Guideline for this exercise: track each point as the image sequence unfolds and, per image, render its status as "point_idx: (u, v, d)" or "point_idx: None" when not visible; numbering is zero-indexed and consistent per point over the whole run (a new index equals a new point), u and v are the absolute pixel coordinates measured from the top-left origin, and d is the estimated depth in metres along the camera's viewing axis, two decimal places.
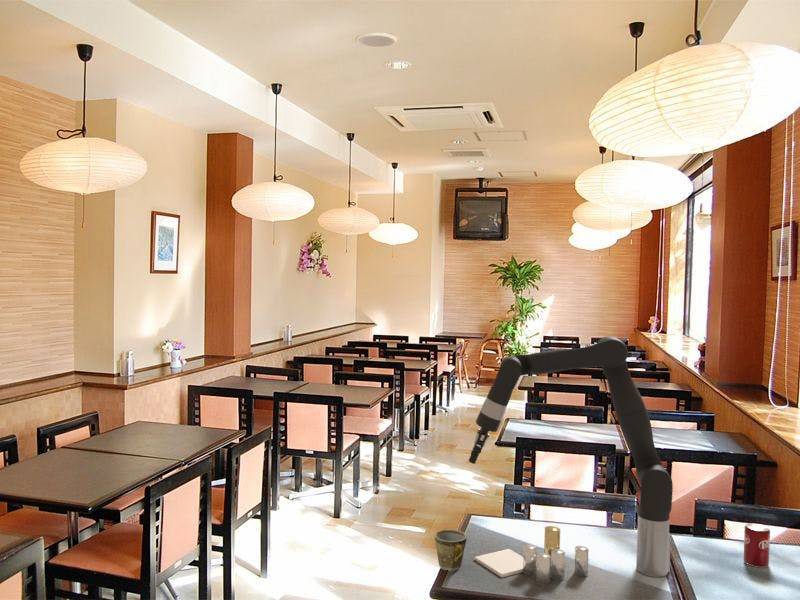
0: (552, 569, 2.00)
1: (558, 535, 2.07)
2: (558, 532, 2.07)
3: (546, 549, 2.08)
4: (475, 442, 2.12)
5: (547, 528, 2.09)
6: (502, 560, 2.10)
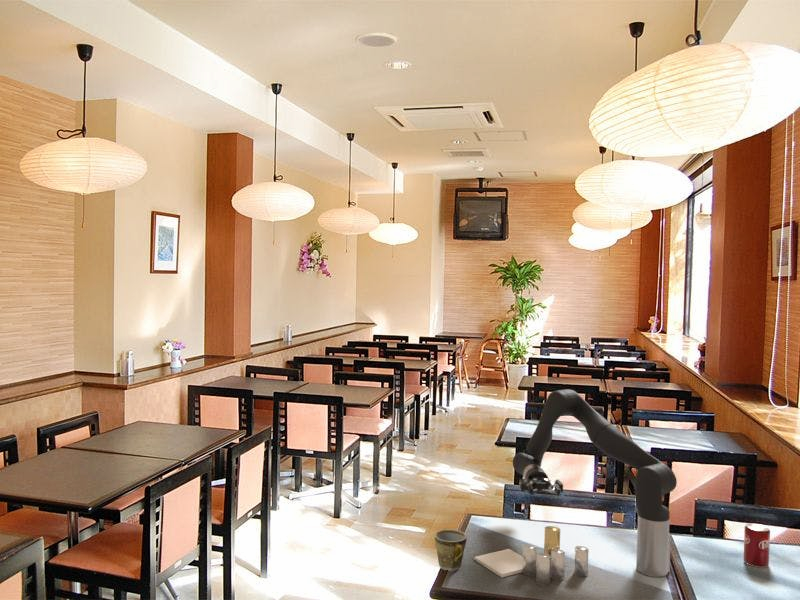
0: (552, 569, 2.00)
1: (558, 535, 2.07)
2: (558, 532, 2.07)
3: (546, 549, 2.08)
4: None
5: (547, 528, 2.09)
6: (502, 560, 2.10)
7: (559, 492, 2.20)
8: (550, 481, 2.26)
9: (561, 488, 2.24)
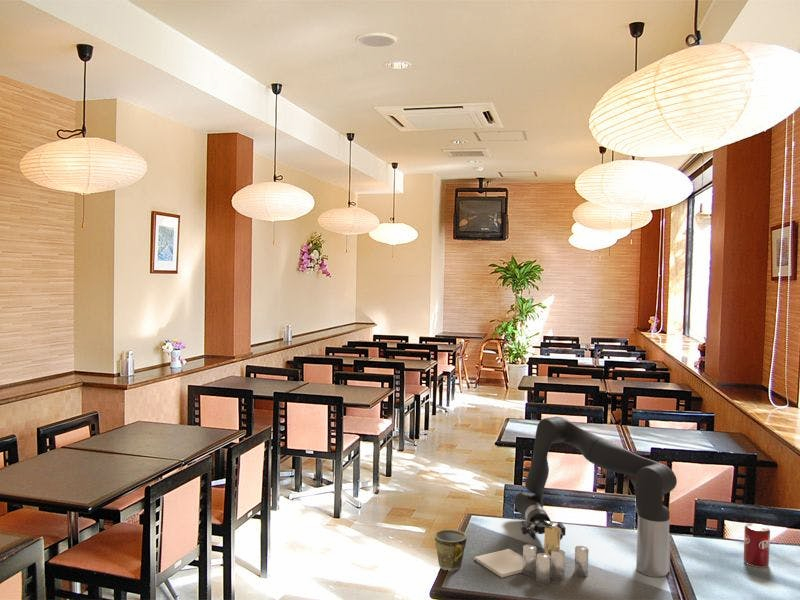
0: (552, 569, 2.00)
1: (558, 535, 2.07)
2: (558, 532, 2.07)
3: (546, 549, 2.08)
4: None
5: (547, 528, 2.09)
6: (502, 560, 2.10)
7: (561, 536, 2.17)
8: (552, 524, 2.23)
9: (563, 531, 2.20)
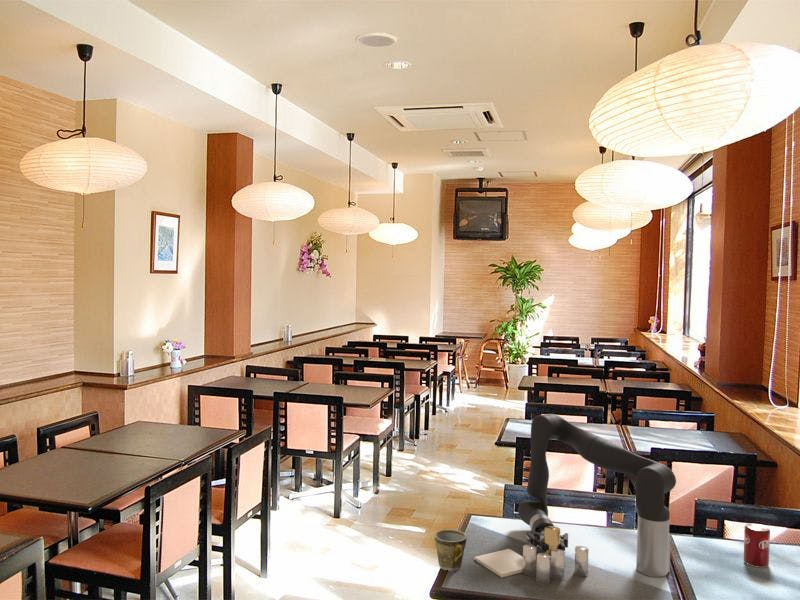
0: (552, 569, 2.00)
1: (558, 535, 2.07)
2: (558, 532, 2.07)
3: None
4: None
5: (547, 528, 2.09)
6: (502, 560, 2.10)
7: (564, 548, 2.07)
8: None
9: (566, 543, 2.10)
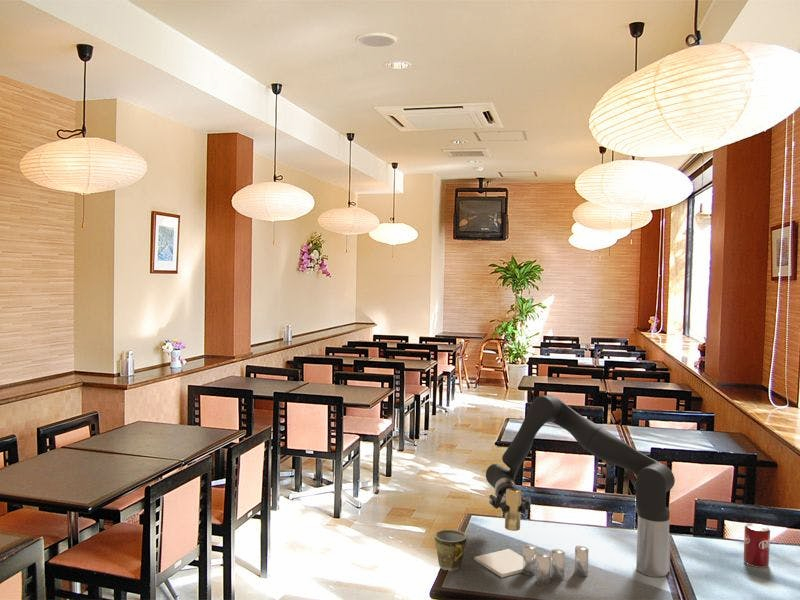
0: (552, 569, 2.00)
1: (519, 496, 2.08)
2: (519, 494, 2.08)
3: (507, 510, 2.09)
4: None
5: (508, 490, 2.10)
6: (502, 560, 2.10)
7: (524, 510, 2.08)
8: None
9: (527, 505, 2.11)
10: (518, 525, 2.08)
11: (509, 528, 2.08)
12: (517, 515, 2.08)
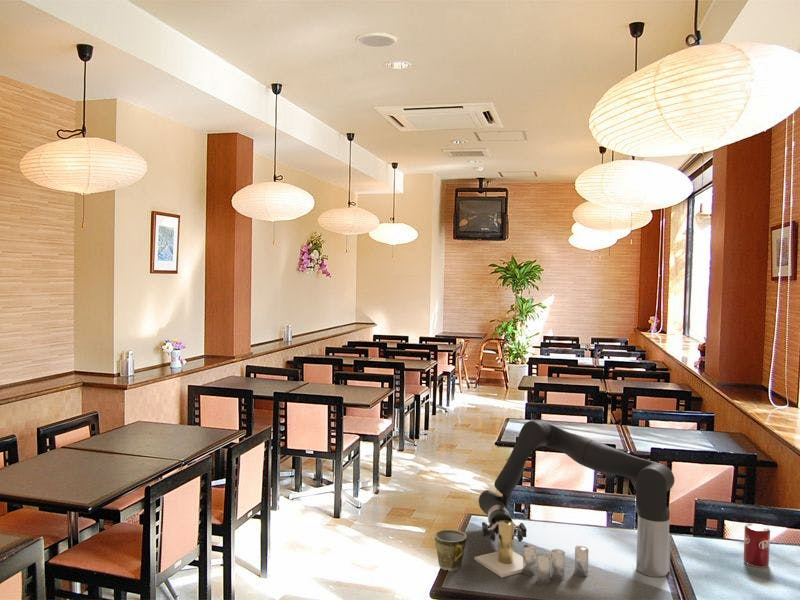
0: (552, 569, 2.00)
1: (512, 529, 2.08)
2: (511, 526, 2.08)
3: (500, 543, 2.09)
4: None
5: (501, 522, 2.10)
6: None
7: (521, 538, 2.08)
8: None
9: (524, 533, 2.12)
10: (511, 558, 2.08)
11: (502, 561, 2.08)
12: (510, 548, 2.08)
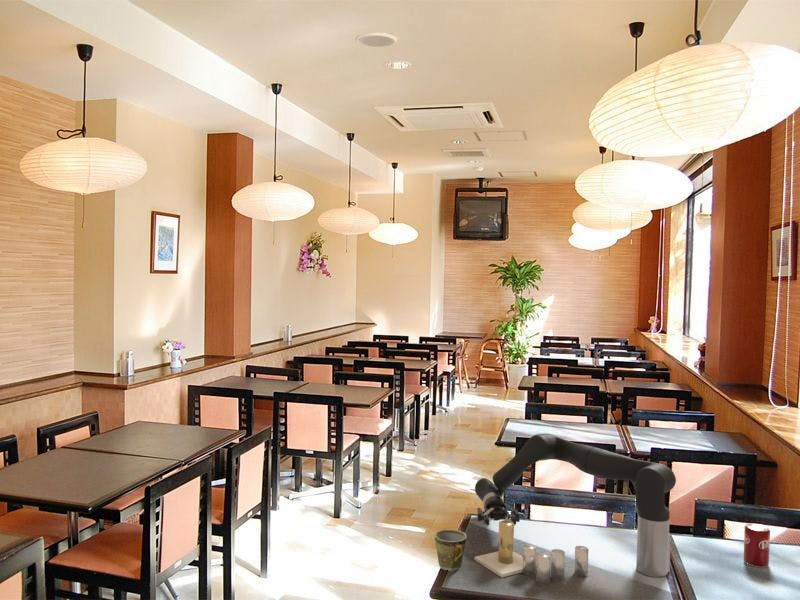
0: (552, 569, 2.00)
1: (512, 529, 2.08)
2: (512, 527, 2.08)
3: (500, 543, 2.09)
4: None
5: (501, 523, 2.10)
6: None
7: (515, 522, 2.21)
8: (507, 511, 2.27)
9: (517, 518, 2.25)
10: (511, 558, 2.08)
11: (502, 561, 2.08)
12: (510, 548, 2.08)
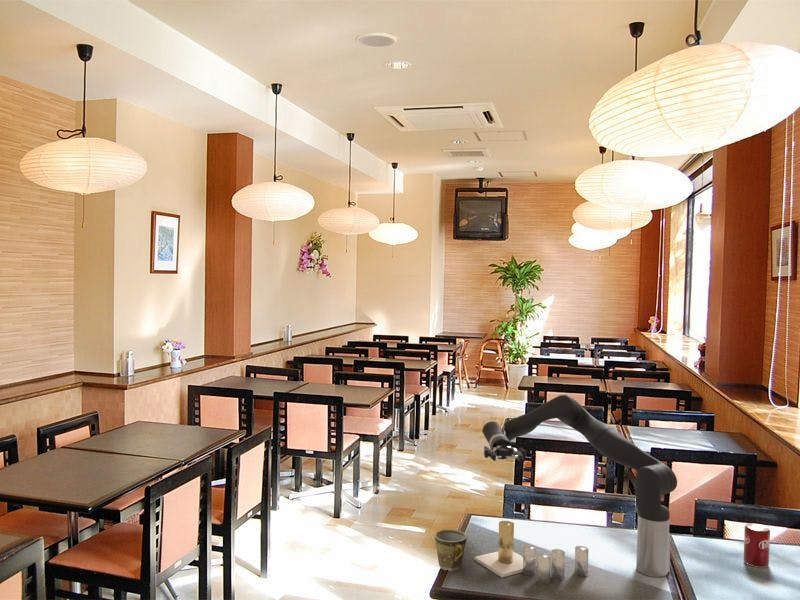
0: (552, 569, 2.00)
1: (512, 529, 2.08)
2: (512, 527, 2.08)
3: (500, 543, 2.09)
4: None
5: (501, 523, 2.10)
6: None
7: (521, 458, 2.24)
8: (513, 448, 2.30)
9: (524, 455, 2.28)
10: (511, 558, 2.08)
11: (502, 561, 2.08)
12: (510, 548, 2.08)
